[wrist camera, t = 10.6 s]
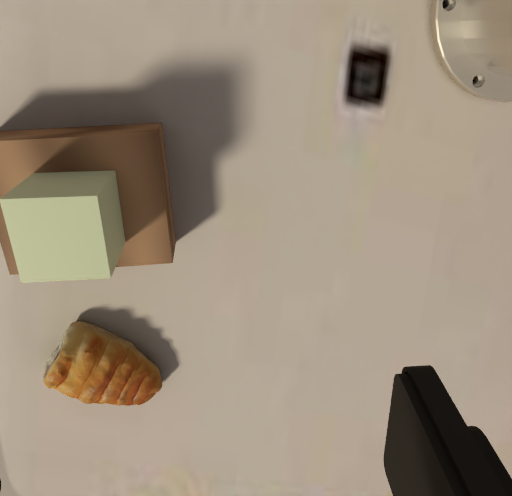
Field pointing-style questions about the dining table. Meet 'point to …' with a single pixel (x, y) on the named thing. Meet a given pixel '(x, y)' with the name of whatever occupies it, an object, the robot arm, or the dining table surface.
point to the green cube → (65, 225)
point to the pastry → (101, 368)
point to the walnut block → (101, 159)
